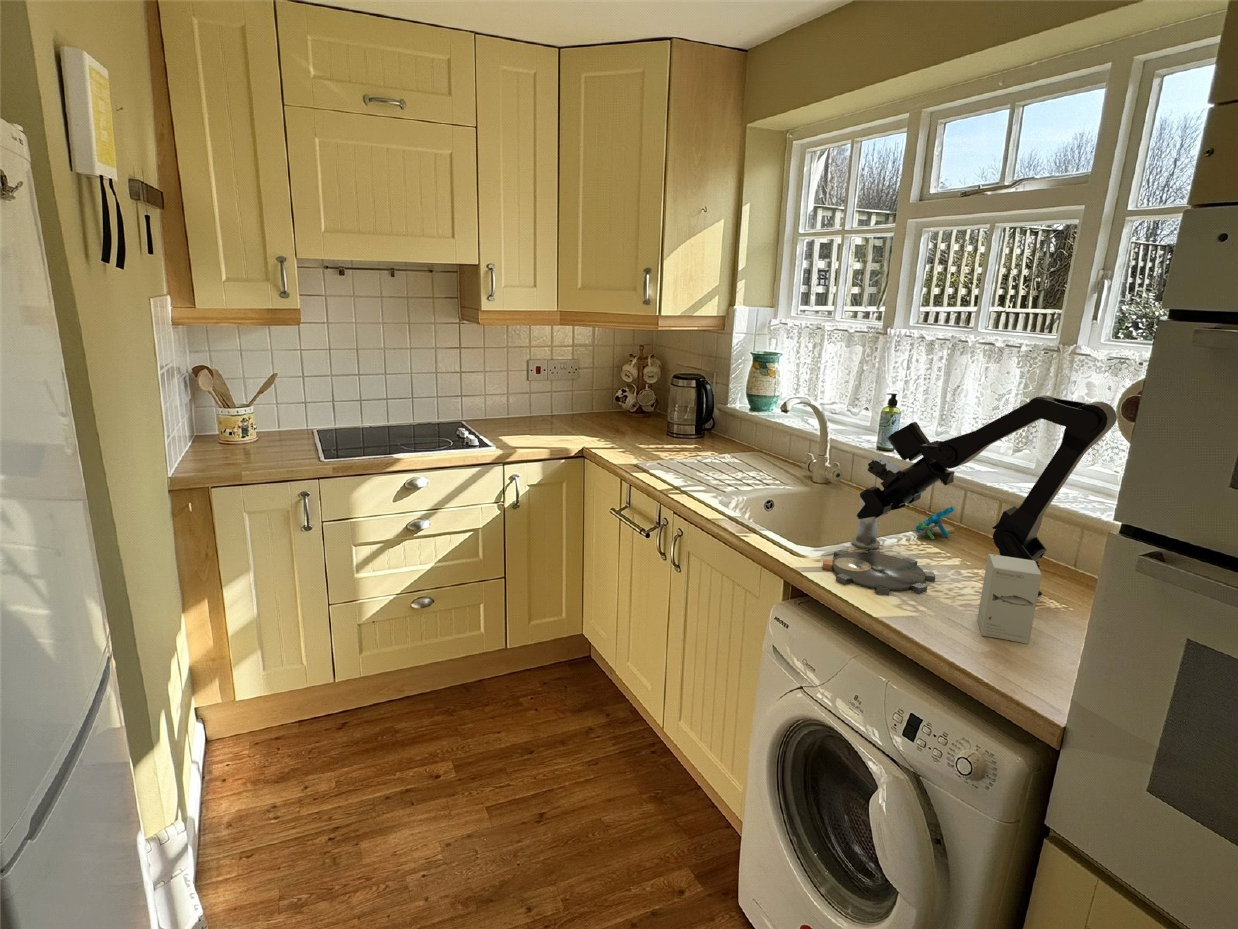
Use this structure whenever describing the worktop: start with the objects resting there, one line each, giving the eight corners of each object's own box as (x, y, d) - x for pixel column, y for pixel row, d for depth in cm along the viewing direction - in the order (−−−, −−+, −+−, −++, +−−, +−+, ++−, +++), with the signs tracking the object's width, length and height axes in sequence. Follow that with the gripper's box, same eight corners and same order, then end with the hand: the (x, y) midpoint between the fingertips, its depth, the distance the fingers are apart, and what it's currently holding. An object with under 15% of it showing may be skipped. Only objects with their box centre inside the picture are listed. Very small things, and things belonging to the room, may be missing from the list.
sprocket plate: (925, 561, 156) (926, 554, 156) (943, 601, 136) (944, 595, 136) (822, 549, 161) (822, 543, 161) (823, 587, 141) (824, 580, 141)
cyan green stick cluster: (931, 518, 180) (959, 499, 172) (946, 539, 178) (975, 521, 170) (902, 531, 175) (930, 512, 167) (917, 552, 173) (945, 534, 165)
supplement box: (980, 636, 123) (992, 567, 120) (976, 618, 129) (987, 552, 126) (1029, 645, 120) (1042, 574, 117) (1023, 626, 127) (1035, 559, 124)
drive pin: (884, 549, 162) (890, 500, 160) (858, 549, 162) (863, 500, 159) (872, 540, 168) (878, 492, 165) (847, 540, 168) (852, 492, 165)
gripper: (914, 441, 163) (863, 479, 173) (873, 453, 150) (821, 492, 161) (944, 482, 159) (890, 518, 170) (905, 498, 147) (850, 535, 157)
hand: (863, 515), depth 164 cm, fingers closed on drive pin, 4 cm apart
